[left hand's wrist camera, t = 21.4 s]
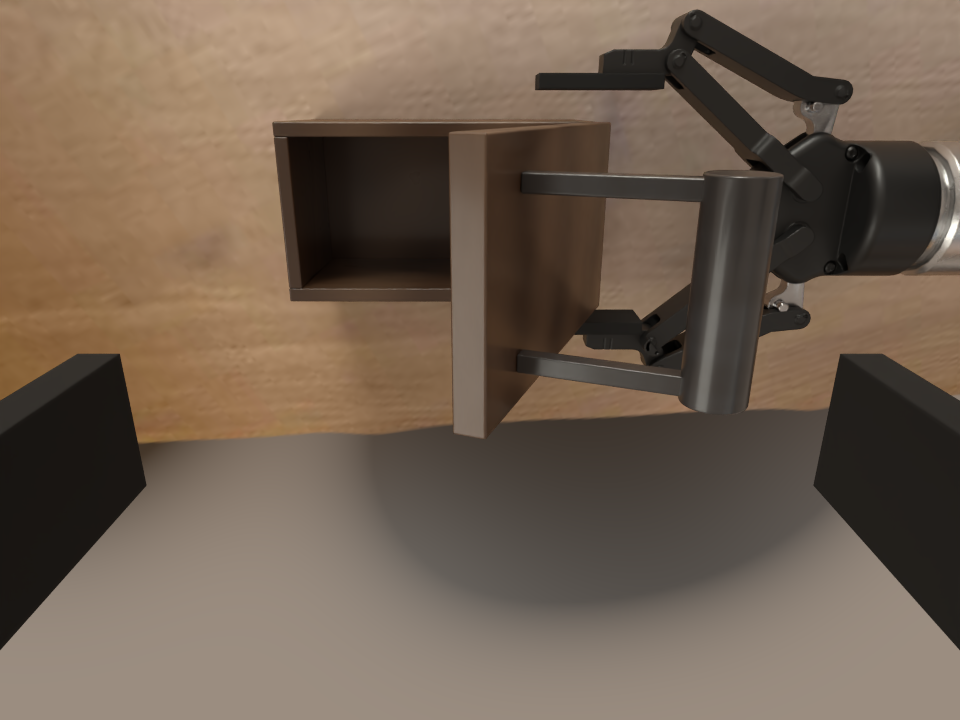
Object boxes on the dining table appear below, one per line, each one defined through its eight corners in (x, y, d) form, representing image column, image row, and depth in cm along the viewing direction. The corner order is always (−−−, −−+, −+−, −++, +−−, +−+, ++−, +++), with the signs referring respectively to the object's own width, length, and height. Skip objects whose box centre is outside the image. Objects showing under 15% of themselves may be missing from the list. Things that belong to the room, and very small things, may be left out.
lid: (452, 434, 22) (739, 488, 19) (447, 131, 19) (795, 136, 16) (577, 303, 37) (750, 321, 34) (587, 122, 34) (780, 123, 31)
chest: (324, 266, 46) (290, 301, 38) (312, 119, 42) (271, 121, 34) (567, 267, 46) (586, 301, 38) (574, 119, 42) (597, 122, 34)
